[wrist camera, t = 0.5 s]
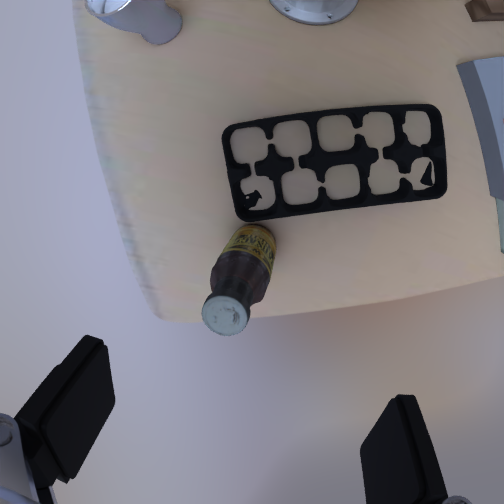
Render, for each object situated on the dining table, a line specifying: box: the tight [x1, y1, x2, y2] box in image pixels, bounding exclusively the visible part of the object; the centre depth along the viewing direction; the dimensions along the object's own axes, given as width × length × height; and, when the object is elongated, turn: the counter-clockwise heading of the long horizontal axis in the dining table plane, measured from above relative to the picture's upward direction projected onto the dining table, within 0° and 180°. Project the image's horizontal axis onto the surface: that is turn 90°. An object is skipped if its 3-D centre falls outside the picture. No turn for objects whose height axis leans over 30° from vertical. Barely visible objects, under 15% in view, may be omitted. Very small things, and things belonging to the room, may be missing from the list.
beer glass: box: [85, 0, 182, 45], centre depth 29 cm, size 7×7×15 cm
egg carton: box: [222, 104, 447, 222], centre depth 39 cm, size 18×30×4 cm, turn 112°
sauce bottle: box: [202, 224, 276, 336], centre depth 36 cm, size 6×6×20 cm
